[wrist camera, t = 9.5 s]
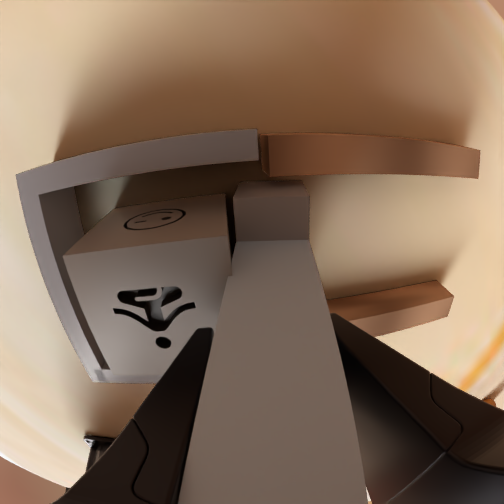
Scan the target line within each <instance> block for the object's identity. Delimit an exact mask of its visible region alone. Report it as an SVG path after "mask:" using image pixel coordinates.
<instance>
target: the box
mask: <svg viewBox="0 0 504 504" xmlns="http://www.w3.org/2000/svg"><path fill="white" fill-rule="evenodd" d="M254 160H259V156H258V139H257V129H241V130H228V131H216V132H206V133H197V134H189V135H181V136H174V137H167V138H160V139H154V140H148V141H142V142H136V143H131V144H126V145H121V146H116V147H111V148H107V149H102V150H98V151H93V152H89V153H85V154H81V155H77V156H73V157H70V158H66V159H62V160H59V161H55V162H52V163H49V164H45V165H42V166H39V167H36V168H33V169H30V170H27V171H24V172H22V173H19V174H16V179H17V185H18V190H19V195H20V200H21V204H22V209H23V213H24V217H25V221H26V225H27V229H28V233H29V236H30V240H31V243H32V246H33V250H34V253H35V256H36V259H37V262H38V265H39V268H40V271H41V274H42V277H43V279H44V282H45V285H46V287H47V290H48V292H49V295H50V297H51V300H52V302H53V305H54V307H55V309H56V312H57V314H58V316H59V319H60V321H61V323H62V325H63V327H64V329H65V331H66V334H67V336H68V338H69V340H70V342H71V344H72V346H73V348H74V350H75V351H76V353H77V355H78V357H79V359H80V361H81V363H82V364H83V366H84V368H85V370H86V372H87V373H88V375H89V377H90V378H91V380H92V382H104V383H158V381H159V380H160V379H161V377H162V376H163V375H146V376H126V375H113V373H112V372H111V370H110V368H109V366H108V364H107V362H106V360H105V358H104V356H103V354H102V352H101V350H100V348H99V346H98V344H97V342H96V340H95V338H94V336H93V333H92V331H91V329H90V327H89V325H88V322H87V320H86V318H85V315H84V313H83V311H82V308H81V306H80V303H79V301H78V298H77V296H76V293H75V290H74V288H73V285H72V282H71V280H70V277H69V274H68V271H67V268H66V265H65V262H64V259H63V255H64V254H65V253H66V252H67V251H68V250H69V249H70V248H71V247H72V246H73V245H74V244H75V243H76V242H78V241H79V240H80V239H81V238H82V237H83V236H84V231H83V227H82V223H81V218H80V214H79V209H78V205H77V200H76V195H75V189H74V186H77V185H81V184H86V183H91V182H96V181H101V180H106V179H111V178H117V177H122V176H128V175H134V174H140V173H146V172H153V171H159V170H167V169H174V168H182V167H190V166H198V165H208V164H218V163H229V162H241V161H254Z"/></svg>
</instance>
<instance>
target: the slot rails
mask: <svg viewBox="0 0 504 504" xmlns="http://www.w3.org/2000/svg"><path fill="white" fill-rule="evenodd" d="M260 146H261V164H262V170H263V171H264V172H265V173H266V174H267V175H268V176H269V177H280V176H299V175H326V174H406V175H431V176H449V177H463V178H475V179H478V176H479V164H480V150H476V149H472V148H468V147H463V146H459V145H454V144H448V143H441V142H434V141H427V140H419V139H410V138H401V137H390V136H378V135H362V134H339V133H280V134H260ZM453 298H454V296H453V295H452V294H451V293H450V292H449V291H448V290H447V289H446V288H444V287H443V286H442V285H441V284H440V283H439V282H438V281H436V280H435V281H430V282H425V283H421V284H416V285H411V286H406V287H401V288H395V289H390V290H385V291H379V292H374V293H368V294H362V295H357V296H351V297H345V298H338V299H332V300H326V301H327V305H328V308H329V312H330V313H336V314H338V315H340V316H341V317H343V318H344V319H346V320H348V321H349V322H351V323H352V324H354V325H356V326H357V327H359V328H360V329H362V330H364V331H365V332H367V333H368V334H370V335H372V336H373V337H376V336H380V335H384V334H388V333H392V332H396V331H400V330H404V329H407V328H411V327H415V326H418V325H421V324H425V323H428V322H432V321H435V320H438V319H441V318H444V317H447V316H448V313H449V311H450V308H451V305H452V302H453Z"/></svg>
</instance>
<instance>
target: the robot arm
mask: <svg viewBox="0 0 504 504" xmlns="http://www.w3.org/2000/svg"><path fill="white" fill-rule="evenodd" d="M330 316H331V320H332V324H333V328H334V332H335V336H336V340H337V344H338V348H339V352H340V356H341V360H342V365H343V369H344V373H345V378H346V382H347V387H348V392H349V396H350V401H351V406H352V411H353V416H354V421H355V426H356V431H357V437H358V442H359V448H360V454H361V460H362V466H363V472H364V479H365V485H366V487H367V490H368V493H369V496H370V499H371V501H372V504H504V410H502V409H500V408H498V407H495V406H493V405H491V404H489V403H487V402H485V401H482V400H480V399H478V398H476V397H474V396H472V395H470V394H468V393H466V392H464V391H462V390H460V389H458V388H456V387H455V386H453V385H451V384H450V383H448V382H446V381H444V380H443V379H441V378H439V377H438V376H436V375H434V374H433V373H431V374H430V372H429V371H428V370H426V369H425V368H423V367H421V366H420V365H418V364H417V363H415V362H413V361H412V360H410V359H408V358H407V357H405V356H404V355H402V354H400V353H399V352H397V351H396V350H394V349H392V348H391V347H389V346H388V345H386V344H384V343H383V342H381V341H380V340H378V339H376V338H375V337H373V336H372V335H370V334H368V333H367V332H365V331H364V330H362V329H360V328H359V327H357V326H356V325H354V324H352V323H351V322H349V321H348V320H346V319H344V318H343V317H341V316H340V315H338V314H336V313H330ZM213 337H214V331H213V328H211V327H205V328H198V329H196V331H195V332H194V333H193V335H192V336H191V337H190V339H189V340H188V342H187V343H186V344H185V346H184V347H183V348H182V350H181V351H180V353H179V354H178V355H177V357H176V358H175V359H174V361H173V362H172V363H171V365H170V366H169V368H168V369H167V370H166V372H165V373H164V374H163V376H162V377H161V379H160V380H159V381H158V383H157V384H156V385H155V387H154V388H153V390H152V391H151V392H150V394H149V395H148V396H147V398H146V399H145V401H144V402H143V403H142V405H141V406H140V407H139V409H138V410H137V412H136V413H135V414H134V416H133V419H131V420H130V421H129V422H128V424H127V425H126V426H125V428H124V429H123V431H122V432H121V433H120V434H119V436H118V437H117V438H116V439H109V438H100V437H93V436H86V435H85V436H84V439H83V440H84V441H85V443H86V444H87V445H88V446H89V447H90V448H91V449H90V453H89V458H88V463H87V467H86V472H85V474H84V475H83V476H82V477H81V478H80V479H79V480H78V481H77V482H76V483H75V484H74V485H73V486H72V487H71V488H67V487H66V492H65V494H64V495H63V496H61V497H60V498H59V499H58V500H56V501H54V502H52V503H51V504H178V500H179V495H180V490H181V485H182V480H183V475H184V470H185V465H186V460H187V456H188V451H189V446H190V441H191V437H192V432H193V427H194V422H195V418H196V413H197V409H198V404H199V399H200V395H201V390H202V386H203V381H204V377H205V372H206V368H207V364H208V359H209V355H210V350H211V346H212V342H213Z"/></svg>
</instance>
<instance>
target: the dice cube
mask: <svg viewBox="0 0 504 504" xmlns="http://www.w3.org/2000/svg"><path fill="white" fill-rule="evenodd" d="M63 259H64V262H65V265H66V268H67V271H68V274H69V277H70V280H71V282H72V285H73V288H74V290H75V293H76V296H77V298H78V301H79V303H80V306H81V308H82V311H83V313H84V315H85V318H86V320H87V322H88V325H89V327H90V329H91V331H92V333H93V336H94V338H95V340H96V342H97V344H98V346H99V348H100V350H101V352H102V354H103V356H104V358H105V360H106V362H107V364H108V366H109V368H110V370H111V372H112V373H113V375H126V376H146V375H163V374H164V373H165V372H166V370H167V369H168V368H169V366H170V365H171V363H172V362H173V361H174V359H175V358H176V357H177V355H178V354H179V353H180V351H181V350H182V348H183V347H184V346H185V344H186V343H187V342H188V340H189V339H190V337H191V336H192V335H193V333H194V332H195V331H196V329H198V328H205V327H211V328H213V331H214V333H215V329H216V324H217V320H218V316H219V312H220V307H221V303H222V299H223V295H224V291H225V286H226V282H227V278H228V276H232V266H231V262H232V254H231V245H230V236H229V227H228V218H227V208H226V199H225V193H222V194H213V195H204V196H196V197H188V198H181V199H173V200H166V201H159V202H152V203H146V204H139V205H133V206H127V207H121V208H115V209H113V210H112V211H111V212H110V213H109V214H107V215H106V216H105V217H104V218H103V219H102V220H101V221H99V222H98V223H97V224H96V225H95V226H94V227H93V228H92V229H91V230H89V231H88V232H87V233H86V234H85V235H84V236H83V237H82V238H81V239H80V240H79V241H78V242H76V243H75V244H74V245H73V246H72V247H71V248H70V249H69V250H68V251H67V252H66V253H65V254H64V255H63Z"/></svg>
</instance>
